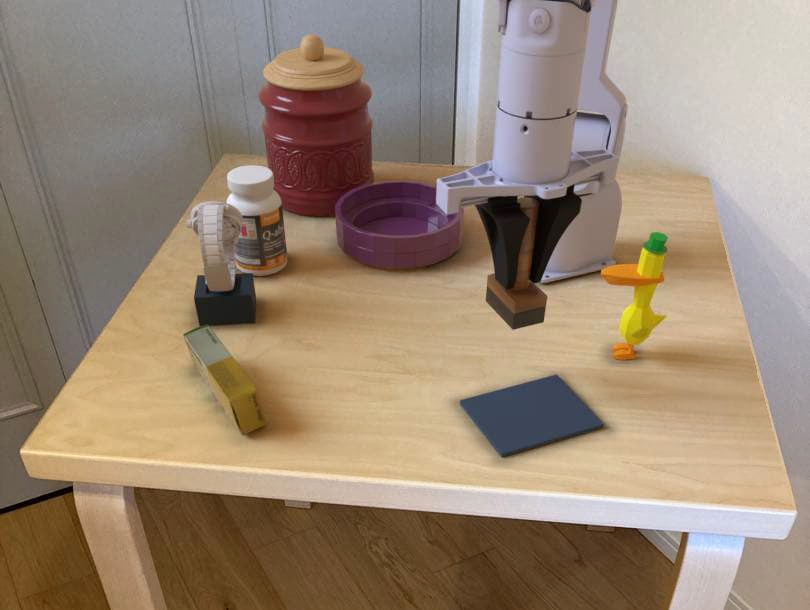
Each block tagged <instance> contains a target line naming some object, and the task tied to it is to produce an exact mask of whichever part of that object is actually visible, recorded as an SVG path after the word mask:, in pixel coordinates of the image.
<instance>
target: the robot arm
mask: <svg viewBox="0 0 810 610" xmlns="http://www.w3.org/2000/svg"><path fill="white" fill-rule="evenodd" d="M618 2H619V0H497V22H496V25H497V32H498V33H500V34H501V45H500V55H499V56H500V57H499V70H498V81H497V82H498V83H497V94H496V95H497V96H496V107H495V108H496V109H495V121H494V135H493V147H492V157H491V158H492V159H489V160H487V161H485V162H482V163H480V164H477V165H475V166H472V167H470V168H467V169H464V170H462V171H460V172H458V173H455V174H452V175H451V174H450V175H448V176H444V177H439V178H437V179H436V186H437V192H436V204H437V205H438V206H439V207H440V208H441V209H442V210H443V211H444V212H445V213H446V214H447V215H449V214H454V213H458V212H459V208H462V207H463V208H467V207H473V206H475V209H476V210H477V213H478V215H479V218H480V220H481V222H482V225H483V227H484V230H485V233H486V237H487V240H488V244H489V248H490V252H491V253H490V254H491V258H492V263H493V272H494V273H495V279H496V280H497V281H498V282H499V283H500V284H501V285H502V286H503V287H504V288H505V289H512V288H514V285H515V282H516V277H517V269H518V260H519V253H520V248H521V244H522V241H523V237H524V234H525V232H526V229H527V227H528V224H529V222H530V220H531V219H530V218H529V217H528V216H527V215H526V214H525V213H523V212H522V211H521V210H520V206H521V204H520V203H518V202H517V198H520V197H528V198H533V199H535V200H537V201H538V202H539V209H538V217H537V225H536V234H535V242H534V250H533V258H532V267H531V275H530V280H531V281H532V282H533V283H534V284H538V283H541V284H547V283H552V282H557V281H560V280H563V279H568V278H572V277H577V276H582V275H586V274H590V273H595V272H598V271H601V270H602V269H604V268H606V267H608V266H612V265H617V262H616V261H615V260H614V259H613V256H614V252H615V251H614V250H615V245H616V241H617V235H618V230H619V225H620V220H621V214H622V208H623V200H622V192H621V187H620V185H619V183H618V181H617V179H616V176H617V172H618V168H619V163H620V158H621V153H622V149H623V145H624V140H625V139H624V138H625V133H626V126H627V123H626V120H627V119H626V118H627V114H628V109H629V106H628V104H627V97H626V95H625V94H624V93H623V91H621V89H620V88H619V87H618V86H617V85H616V84H615V83H614V82H613V80H611V79H610V77H609V76H608V74H607V73H606V70H607V65H608V59H609V54H610V47H611V43H612V38H613V37H612V36H613V31H614V25H615V20H616V14H617V8H618ZM584 111H587V112H584ZM593 112H594V113H593ZM595 112H596V113H595Z"/></svg>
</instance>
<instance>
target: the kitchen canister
mask: <svg viewBox="0 0 810 610" xmlns="http://www.w3.org/2000/svg"><path fill="white" fill-rule="evenodd" d="M324 45H325V44H324V42H323V40H322V39H321V37H320V36H318V35H317V34H315V33H314V34H313V33H309V34H306V35H305V36H303V37H302V39H301V42H300V46H299V47H295V48H291V49H288V50H285V51H282V52H280V53H278V54H277V55H276V56H275V57H274V59H273V60H271V61H270V62H269V63H268V64H266V65H265V67H264V68H263V70H262V75H263V77H264V79H265V80H266V81H267V82H266V83H265V84H263V85H262V86H261V87H260V89H259V91H258V94H257V98H258V101H259V102H260V104H261V105H262V106H263V108H264V119H263V120H262V122H261V129H262V132H263V137H264V144H265V152H266V153H265V154H266V162H267V168H269V169H270V170H271V171H272V172H273V177H274V188H273V190H274V191H276V192H277V193H278V195H279V196H280V198H281V202H282V209H283V210H285V211H288V212H290V213H294V214H299V215H303V216H304V215H305V216H312V217H313V216H316V217H317V216H318V217H321V216H334V215H335V205H336V203H337V202H338V200H339V199H340V197H341V196H343V195H344V194H346V193H347V192H349V191H350V190H352V189H355V188H357V187H360V186H363V185H365V184H370V183H375V172H374V169H373V143H372V141H373V140H372V129H373V126H374V122H373V118H372V117H371V116H370V114H369V107H368V103H369V102H370V100H371V99H372V97H373V91H372V88H371V86H370V85H369V84H368V82H366V81H364V80H363V79H362V77H363V75H364V74H365V68H364V65H362V64H361V62H360V61H358V60H356V59H355V58H353V57H351V55H350V54H349V53H347V51H344V50H342V49H338V48H334V47H328V46H324Z"/></svg>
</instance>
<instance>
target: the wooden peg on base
mask: <svg viewBox="0 0 810 610" xmlns="http://www.w3.org/2000/svg"><path fill="white" fill-rule="evenodd" d="M517 202H518V203H520V204H521V206H520V210H521V211H522V212H523V213H525V214H526V215H527V216H528V217H529V218H530V219H531V220H530V222H529V224H528V227H527V229H526V232H525V234H524V237H523V241H522V244H521V248H520V253H519V260H518V269H517V277H516V282H515V285H514V288H512V289H505V288H504V287H503V286H502V285H501V284H500V283H499V282H498V281H497V280H496V279H495V272H494V273H490V274H487V278H486V289H485V290H486V291H485V302H486V303H487V304H488V306H490V308H491V309H492V310H493V311H494V312H495V313H496V314H497V316H499V317H500V318H501V319H502V321H504V322H505V324H507V326H508V327H509V328H510V329H511V330H512V331H513V330H518V329H522V328H525V327H531V326H536V325H539V324H543V323H544V322H545V316H546V309H547V303H548V295H547V293H545V292H544V291H543V290H542V289H541V288H540V287H539V286H538V285H537V284H536V283H533V282H532V281H531V280H530V275H531V267H532V258H533V250H534V242H535V234H536V225H537V217H538V209H539V202H538V201H537V200H535V199H533V198H528V197H524V196H520V197H518V198H517Z"/></svg>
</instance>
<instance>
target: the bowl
mask: <svg viewBox="0 0 810 610" xmlns="http://www.w3.org/2000/svg"><path fill="white" fill-rule="evenodd" d="M436 192H437V184H432V183H427V182H424V181H416V180H405V179H397V180H382V181H376V182H375V181H374V183H370V184H365V185H363V186H360V187H357V188H355V189H352V190H350V191H349V192H347V193H346V194H344V195H343V196H341V197H340V199H339V200H338V202H337V203H336V205H335V216H334V217H335V229H336V230H335V231H336V232H335V233H336V243H337V246H338V248H339V249H340V250H341V251H342V253H343V254H344V255H346V256H348V257H350V258H351V259H353V260H354V261H356V262H359V263H362V264H365V265H368V266H371V267H372V266H373V267H376V268H384V269H385V268H386V269H394V270H395V269H413V268H414V269H416V268H420V267H425V266H431V265H434V264H437V263H439V262H442V261H443V260H446V259H448V258H450V257H451V256H452V255H453V254H455V253H456V252H457V251H458V250H459V249H460V247H461V243H462V241H463V236H464V235H463V232H464V217H465V216H464V215H465V209H464V207H462V208H459V212H458V213H454V214H449V215H447V214H446V213H445V212H444V211H443V210H442V209H441V208H440V207H439V206H438V205H437V204H436Z"/></svg>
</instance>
